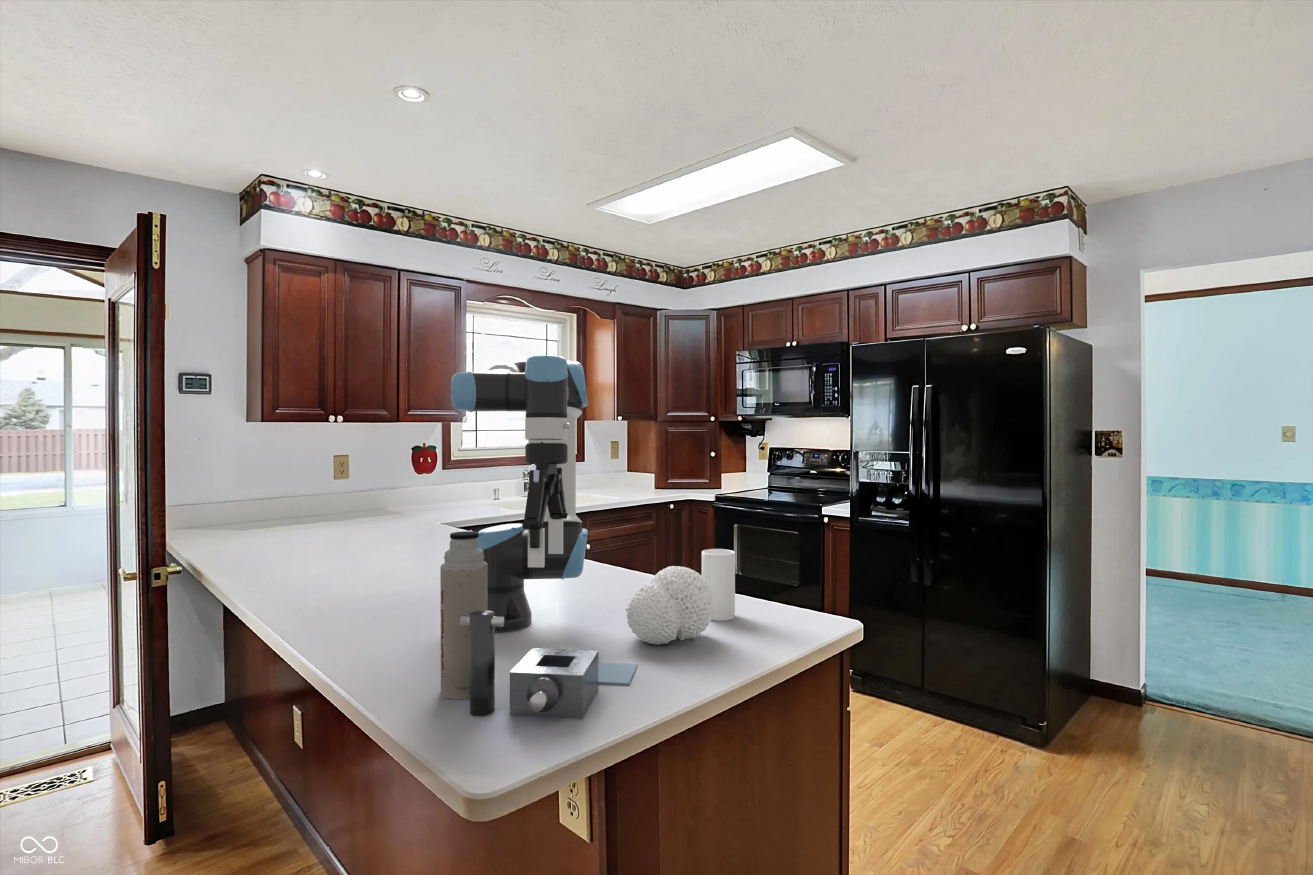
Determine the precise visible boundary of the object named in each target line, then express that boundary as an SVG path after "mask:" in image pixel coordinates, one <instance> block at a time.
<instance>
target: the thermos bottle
mask: <svg viewBox="0 0 1313 875" xmlns="http://www.w3.org/2000/svg"><path fill="white" fill-rule="evenodd" d="M478 532H479V531H474V530H473V531H470V530H468V531H467V530H466V531H456V532H451V533H449V539H450V541H449V549H447V550H446V551H445V552H444V556H443V559H444V562H443V563H442V564H441V565H440V694H441V696H442V697H444V698H446V699H450V700H466V699H470V664H469V626H465V625H460V617H461V616H462V615H469V614H470V613H472V612H475V611H483V610H487V611H488V578H487V563H486V562H484V561H483V558H484V556H483V550H481V549H480V548H478V540H477V538H478V537H479V533H478Z"/></svg>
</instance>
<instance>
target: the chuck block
mask: <svg viewBox="0 0 1313 875" xmlns="http://www.w3.org/2000/svg"><path fill="white" fill-rule="evenodd" d="M598 662H599V650H587V649H586V650H583V649H582V650H581V649H564V648H563V649H562V648H560V649H559V648H538V647H537V648H536V647H535V648H534V647H532V648H531V649H530V650H529V651H528V652H527V653H526V654H525V656H523V657H522V659H521V660H520V661H519V662H518V663H516V665H515V666H514V667H513V668H512V669H511V670H510V671H509V716H513V717H515V716H516V717H518V716H519V717H535V718H548V719H549V718H550V719H551V718H552V719H566V720H567V719H568V720H569V719H571V720H583V719H584V717H585V715H586V713H587V712H588V711H589V708H590V707H591V705H592V703H593V701H594V699H595V697H596V695H597V694H598V692H599V684H598Z"/></svg>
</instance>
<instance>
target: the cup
mask: <svg viewBox="0 0 1313 875" xmlns="http://www.w3.org/2000/svg"><path fill="white" fill-rule="evenodd" d="M735 568H736V552H735V551H734V550H730V549H725V548H724V549H723V548H710V549H704V550H702V551H701V576H702V577H703V578H704V579H705V580H706V581H707V583H708V584H709V586H710V588H711V590H712V594H713V597H714V612H713V617H712V619H711V621H716V622H717V621H718V622H719V621H720V622H722V621H729V620H733V619H735V617H736V569H735Z"/></svg>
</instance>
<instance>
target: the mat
mask: <svg viewBox="0 0 1313 875" xmlns="http://www.w3.org/2000/svg"><path fill="white" fill-rule="evenodd" d="M637 668H638V663H629V662H628V663H624V662H603V661H602V662H601V661H598V685H615V686H616V685H617V686H630V684H631V682H632V680H633V678H634V675H635V673H636V671H637Z"/></svg>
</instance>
